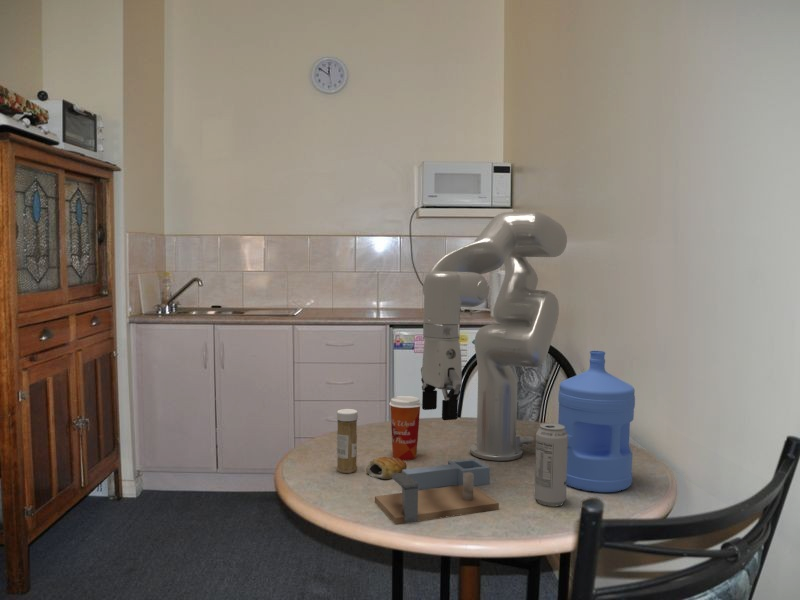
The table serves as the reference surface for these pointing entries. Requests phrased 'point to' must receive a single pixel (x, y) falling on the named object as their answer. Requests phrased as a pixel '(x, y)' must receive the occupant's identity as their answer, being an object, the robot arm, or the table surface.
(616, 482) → the water jug
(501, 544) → the table surface
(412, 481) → the keeper
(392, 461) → the pastry
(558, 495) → the energy drink can
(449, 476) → the link
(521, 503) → the table surface
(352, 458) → the sprinkles bottle
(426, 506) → the board
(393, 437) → the paper cup
